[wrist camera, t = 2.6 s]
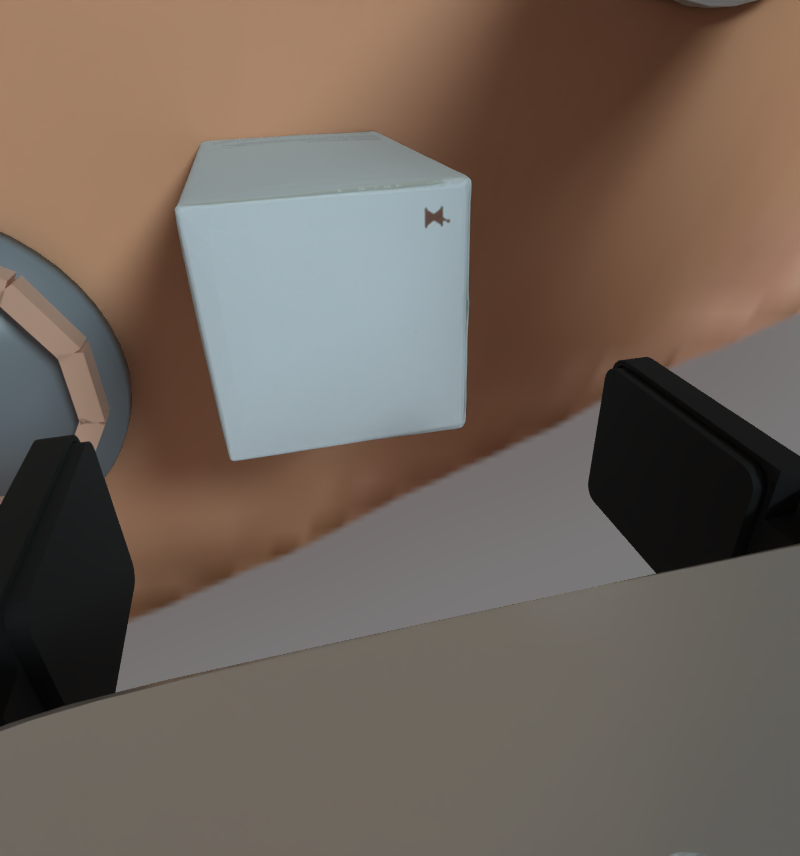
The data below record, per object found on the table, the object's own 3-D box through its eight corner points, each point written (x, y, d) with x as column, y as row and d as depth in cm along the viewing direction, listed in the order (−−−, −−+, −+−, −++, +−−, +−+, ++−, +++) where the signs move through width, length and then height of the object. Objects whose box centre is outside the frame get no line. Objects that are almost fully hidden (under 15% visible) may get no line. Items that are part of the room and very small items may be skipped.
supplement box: (195, 137, 24) (164, 193, 13) (379, 128, 25) (484, 172, 15) (227, 315, 28) (223, 468, 17) (386, 299, 29) (473, 432, 18)
